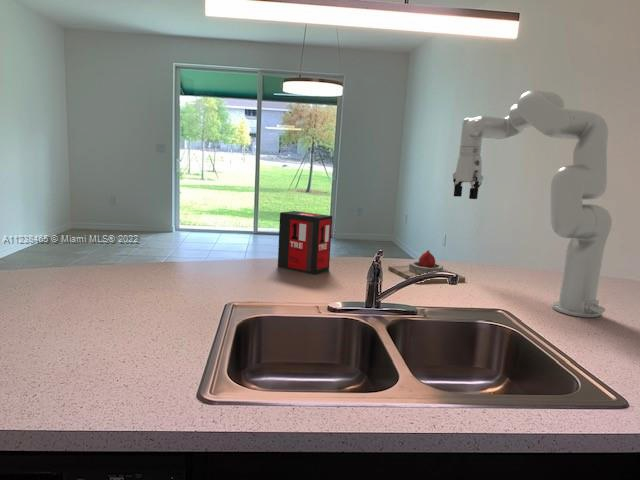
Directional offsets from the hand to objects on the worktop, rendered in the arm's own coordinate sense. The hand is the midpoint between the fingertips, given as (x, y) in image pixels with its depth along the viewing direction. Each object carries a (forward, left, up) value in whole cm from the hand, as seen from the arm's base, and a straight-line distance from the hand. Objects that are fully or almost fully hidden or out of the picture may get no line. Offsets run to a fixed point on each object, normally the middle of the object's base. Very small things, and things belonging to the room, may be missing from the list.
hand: (465, 197), depth 190 cm
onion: (-6, +18, -27) cm, 33 cm away
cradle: (-6, +18, -28) cm, 34 cm away
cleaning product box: (+9, +60, -29) cm, 67 cm away
